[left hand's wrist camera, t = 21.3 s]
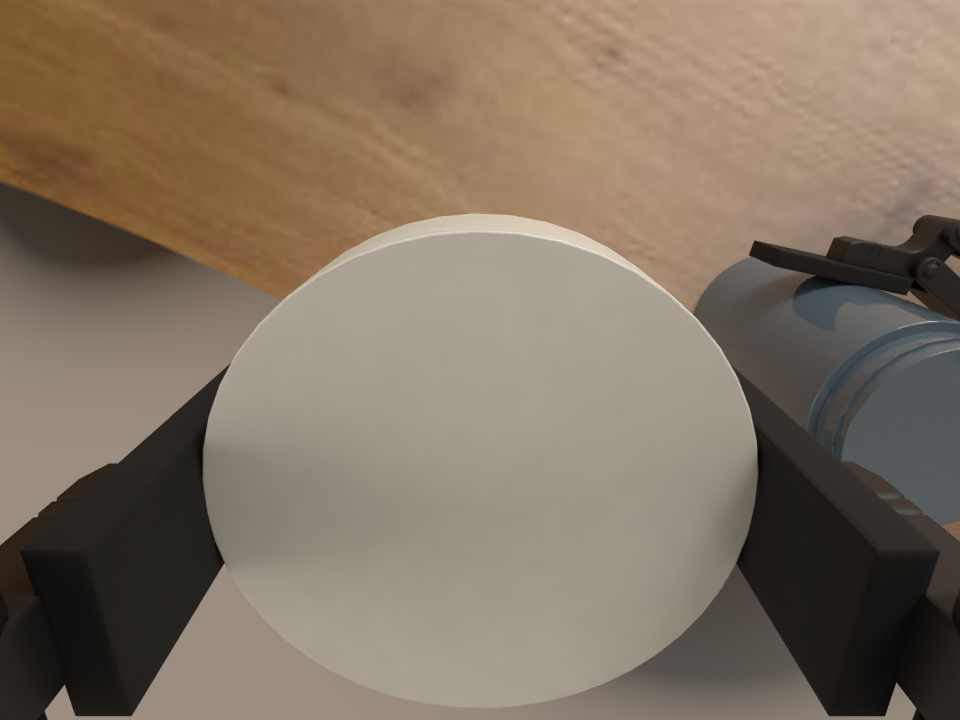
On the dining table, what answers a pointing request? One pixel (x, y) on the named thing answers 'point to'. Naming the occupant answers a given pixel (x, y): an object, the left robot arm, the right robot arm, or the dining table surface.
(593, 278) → the lid
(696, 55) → the dining table surface
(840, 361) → the jar
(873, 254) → the right robot arm
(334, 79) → the dining table surface
